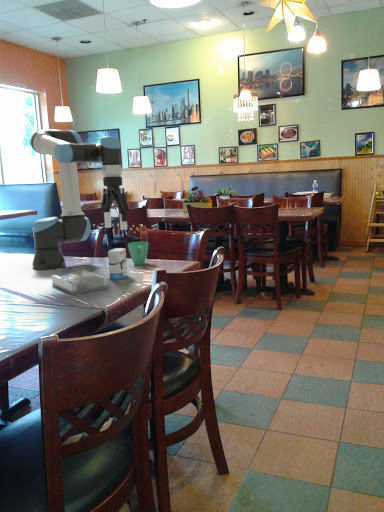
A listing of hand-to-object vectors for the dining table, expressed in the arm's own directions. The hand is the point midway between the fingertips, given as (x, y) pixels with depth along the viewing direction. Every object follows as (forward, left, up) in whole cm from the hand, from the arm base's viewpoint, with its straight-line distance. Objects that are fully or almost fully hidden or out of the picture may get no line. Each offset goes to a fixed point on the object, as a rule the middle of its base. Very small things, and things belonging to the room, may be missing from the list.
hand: (115, 228), depth 183 cm
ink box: (0, 0, -21) cm, 21 cm away
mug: (-18, +21, -21) cm, 35 cm away
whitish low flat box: (+4, -19, -20) cm, 28 cm away
